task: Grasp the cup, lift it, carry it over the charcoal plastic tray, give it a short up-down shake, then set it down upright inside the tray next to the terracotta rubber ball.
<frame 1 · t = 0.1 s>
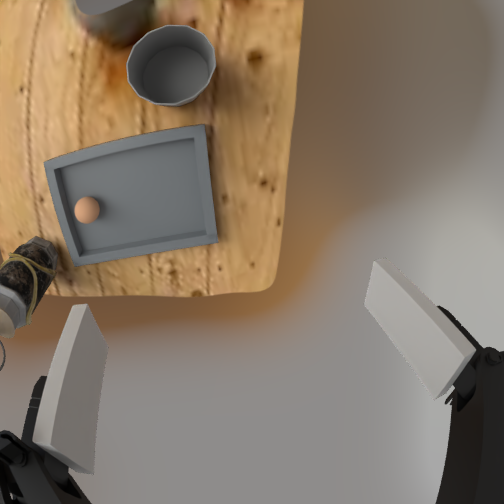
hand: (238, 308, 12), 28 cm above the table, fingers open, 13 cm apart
ball: (91, 205, 34), point 1 cm above the table, touching tray
tray: (130, 195, 35), on the table
lantern: (42, 253, 35), on the table
cup: (175, 76, 29), on the table
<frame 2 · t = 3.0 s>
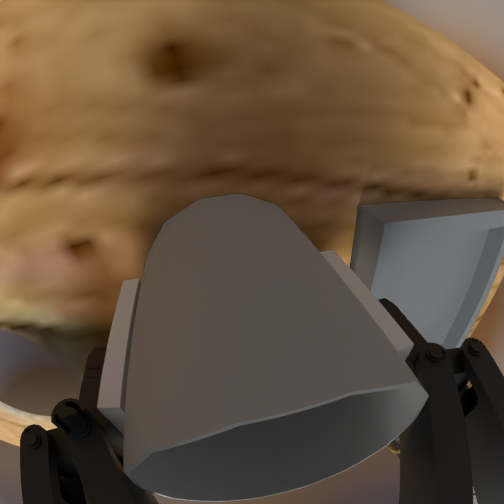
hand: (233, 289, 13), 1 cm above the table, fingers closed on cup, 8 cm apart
tray: (413, 321, 21), on the table
cup: (228, 271, 14), on the table, touching gripper
when the fingers open (4 cm above the table, at t = 10.1 s): cup drops 2 cm, resting on tray.
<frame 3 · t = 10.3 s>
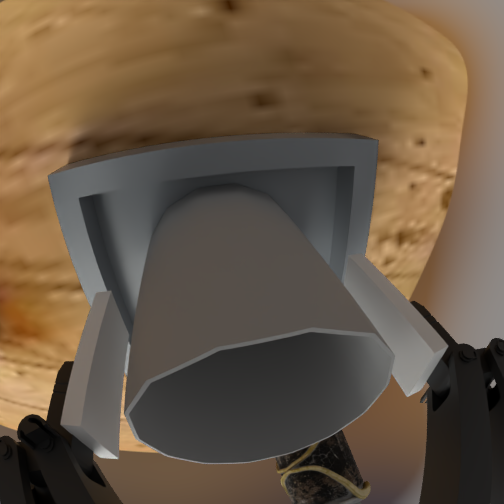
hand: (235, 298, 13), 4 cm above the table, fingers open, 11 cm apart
tray: (229, 309, 19), on the table
lantern: (295, 410, 29), on the table
cup: (223, 254, 16), resting on tray
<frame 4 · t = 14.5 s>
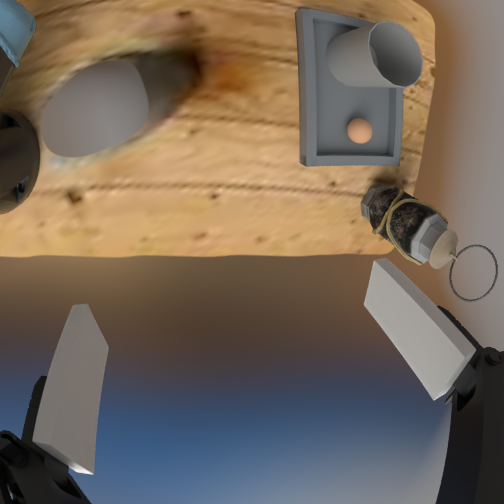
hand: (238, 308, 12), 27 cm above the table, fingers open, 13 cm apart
ball: (352, 129, 35), point 1 cm above the table, touching tray
tray: (351, 89, 33), on the table
lantern: (375, 202, 43), on the table
cup: (351, 60, 30), resting on tray
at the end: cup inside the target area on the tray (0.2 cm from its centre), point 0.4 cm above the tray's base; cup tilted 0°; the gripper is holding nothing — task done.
